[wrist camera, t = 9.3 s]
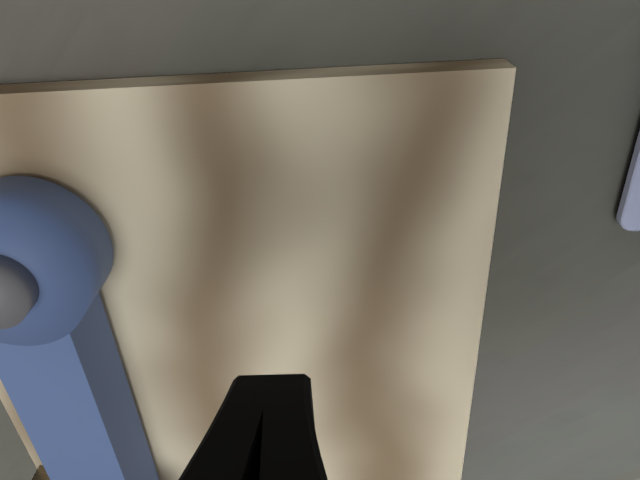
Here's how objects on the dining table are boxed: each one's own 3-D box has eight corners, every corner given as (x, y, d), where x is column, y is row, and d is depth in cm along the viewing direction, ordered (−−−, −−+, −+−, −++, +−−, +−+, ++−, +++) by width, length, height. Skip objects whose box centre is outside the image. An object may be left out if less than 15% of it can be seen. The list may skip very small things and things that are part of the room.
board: (504, 58, 16) (516, 67, 15) (454, 470, 26) (459, 493, 25) (-127, 91, 17) (-157, 101, 16) (63, 477, 27) (53, 499, 26)
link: (-62, 178, 17) (-138, 228, 14) (91, 173, 17) (45, 222, 14) (86, 504, 26) (57, 573, 23) (187, 503, 26) (170, 573, 23)
